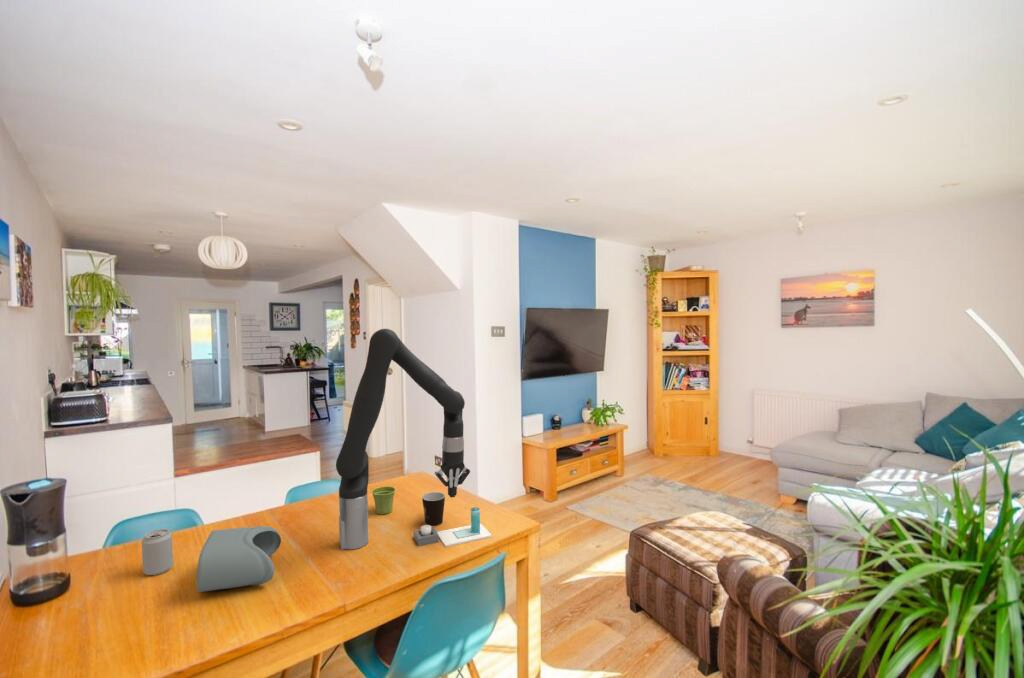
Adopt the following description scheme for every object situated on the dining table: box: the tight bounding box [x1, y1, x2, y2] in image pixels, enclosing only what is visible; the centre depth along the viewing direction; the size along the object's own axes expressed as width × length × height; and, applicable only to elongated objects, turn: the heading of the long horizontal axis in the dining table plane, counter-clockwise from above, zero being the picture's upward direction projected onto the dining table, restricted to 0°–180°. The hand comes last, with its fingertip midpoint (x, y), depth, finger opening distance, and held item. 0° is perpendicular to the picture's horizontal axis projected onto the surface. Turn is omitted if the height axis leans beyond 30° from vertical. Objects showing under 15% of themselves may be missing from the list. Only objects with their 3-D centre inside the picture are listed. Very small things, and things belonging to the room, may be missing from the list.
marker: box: [470, 507, 481, 533], centre depth 171 cm, size 3×3×8 cm
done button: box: [420, 524, 432, 537], centre depth 166 cm, size 4×4×3 cm
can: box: [141, 528, 174, 576], centre depth 147 cm, size 8×8×12 cm
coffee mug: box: [421, 491, 446, 527], centre depth 182 cm, size 12×9×10 cm
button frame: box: [413, 526, 440, 547], centre depth 167 cm, size 7×7×2 cm
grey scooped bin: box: [196, 525, 282, 593], centre depth 144 cm, size 22×19×13 cm
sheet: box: [436, 522, 493, 548], centre depth 170 cm, size 17×11×1 cm, turn 115°
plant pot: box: [371, 485, 397, 515], centre depth 191 cm, size 9×9×9 cm
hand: (452, 496), depth 169 cm, fingers closed
